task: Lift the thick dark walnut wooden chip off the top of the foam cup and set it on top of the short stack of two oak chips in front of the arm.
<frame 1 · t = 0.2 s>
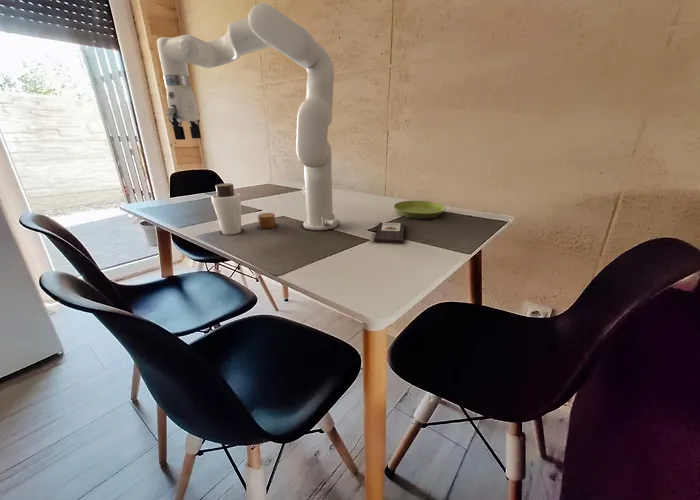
hand: (189, 138, 108), 31 cm above the table, tool pointing down, fingers open, 9 cm apart
walnut chip: (226, 195, 106), point 13 cm above the table, touching foam cup
oak chip middle: (266, 220, 115), point 2 cm above the table, touching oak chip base
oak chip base: (267, 226, 116), on the table, touching oak chip middle
saucer: (418, 214, 129), on the table
chocolate bar: (390, 233, 106), on the table
foam cup: (232, 232, 111), on the table, touching walnut chip
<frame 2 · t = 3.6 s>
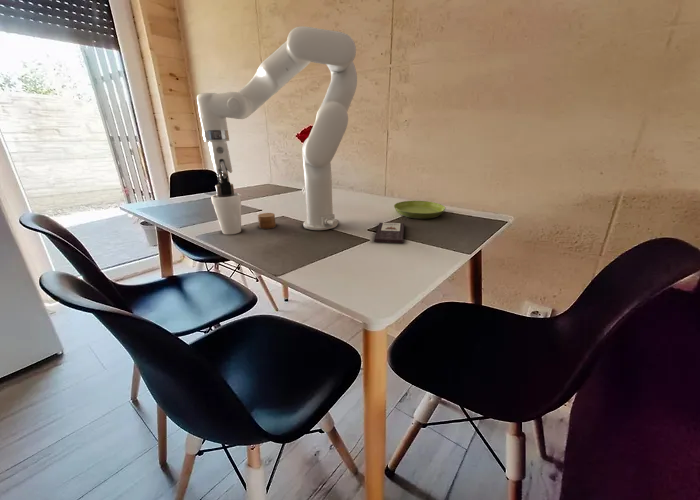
hand: (225, 192, 106), 14 cm above the table, tool pointing down, fingers closed on walnut chip, 5 cm apart
walnut chip: (225, 195, 106), point 13 cm above the table, touching foam cup, gripper
everything else where it was.
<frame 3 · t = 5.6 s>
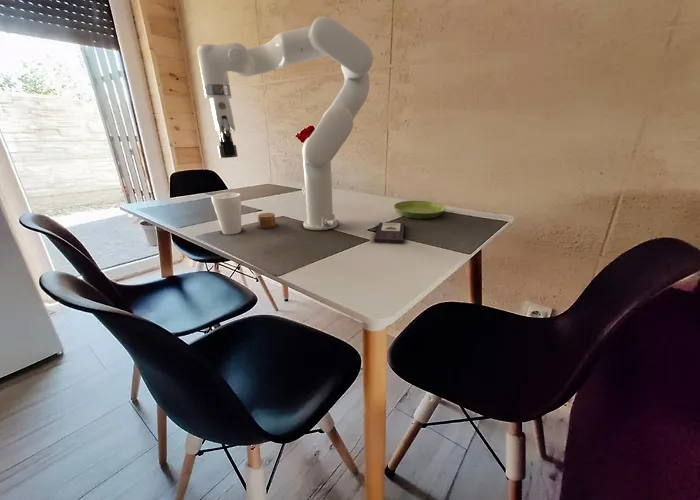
hand: (228, 153, 102), 27 cm above the table, tool pointing down, fingers closed on walnut chip, 5 cm apart
walnut chip: (228, 156, 103), point 26 cm above the table, touching gripper
foam cup: (232, 232, 111), on the table
everything else where it was.
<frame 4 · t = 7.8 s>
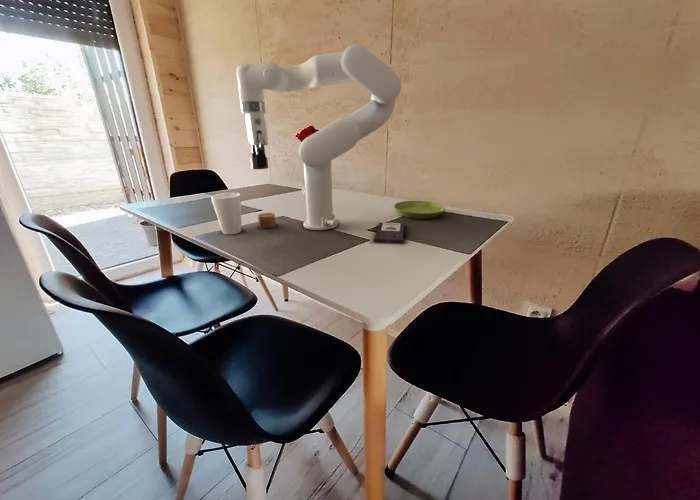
hand: (259, 165, 108), 22 cm above the table, tool pointing down, fingers closed on walnut chip, 5 cm apart
walnut chip: (260, 168, 108), point 21 cm above the table, touching gripper
everything else where it was.
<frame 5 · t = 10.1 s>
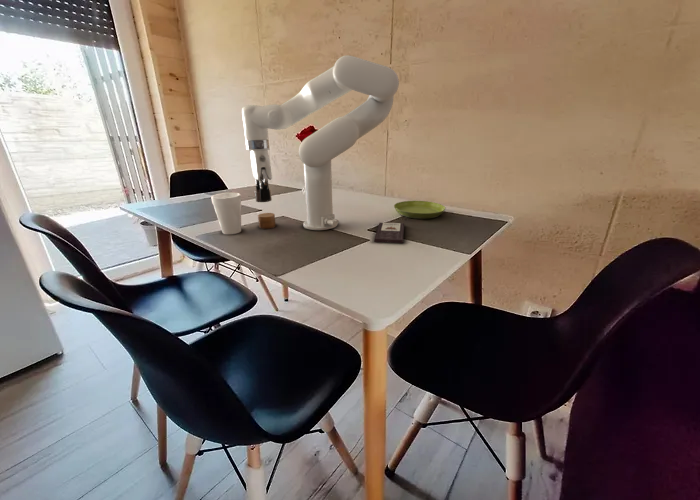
hand: (263, 197, 112), 11 cm above the table, tool pointing down, fingers closed on walnut chip, 5 cm apart
walnut chip: (263, 200, 113), point 10 cm above the table, touching gripper
everything else where it was.
when the fingers open (5 cm above the table, at t = 11.8 s): walnut chip stays where it is, resting on oak chip middle.
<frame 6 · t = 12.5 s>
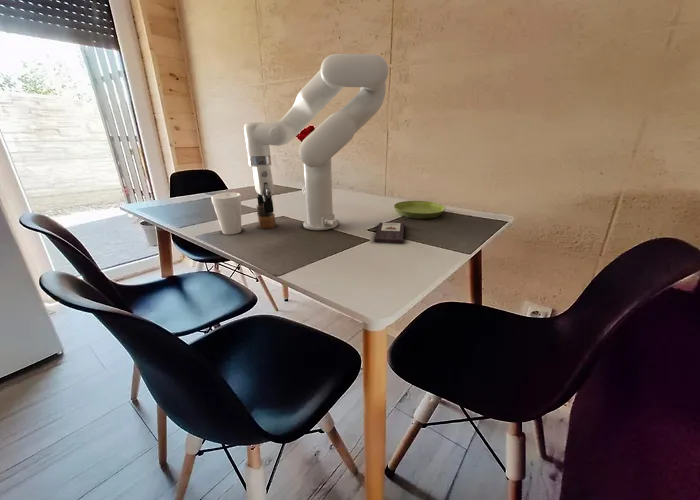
hand: (265, 209, 114), 6 cm above the table, tool pointing down, fingers open, 9 cm apart
walnut chip: (265, 214, 115), point 4 cm above the table, touching oak chip middle
oak chip middle: (266, 220, 115), point 2 cm above the table, touching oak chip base, walnut chip
everything else where it was.
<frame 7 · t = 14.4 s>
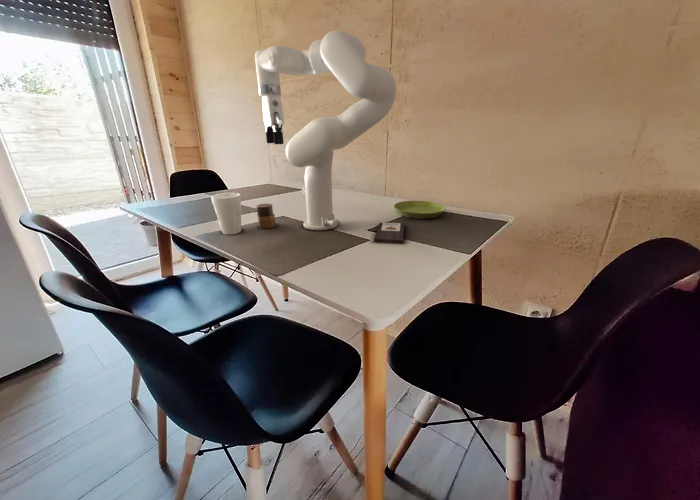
hand: (275, 143, 115), 29 cm above the table, tool pointing down, fingers open, 9 cm apart
nothing on the table moved.
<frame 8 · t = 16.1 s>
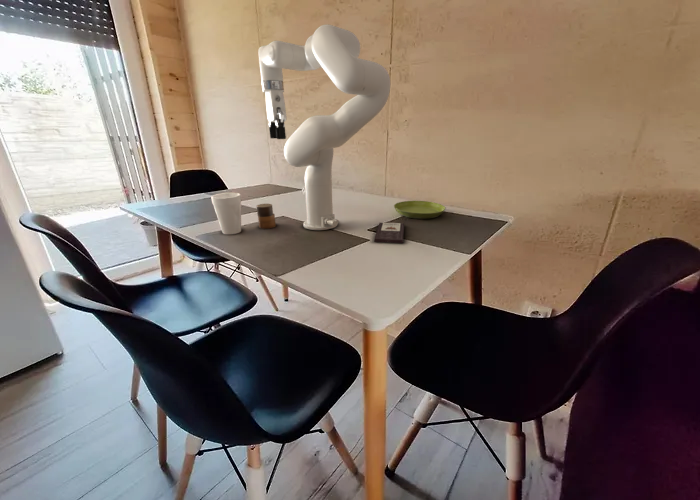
hand: (277, 138, 117), 30 cm above the table, tool pointing down, fingers open, 9 cm apart
nothing on the table moved.
at the end: walnut chip 0.3 cm off-centre on the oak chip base, point 4.4 cm above the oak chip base's base; walnut chip tilted 0°; the gripper is holding nothing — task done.
